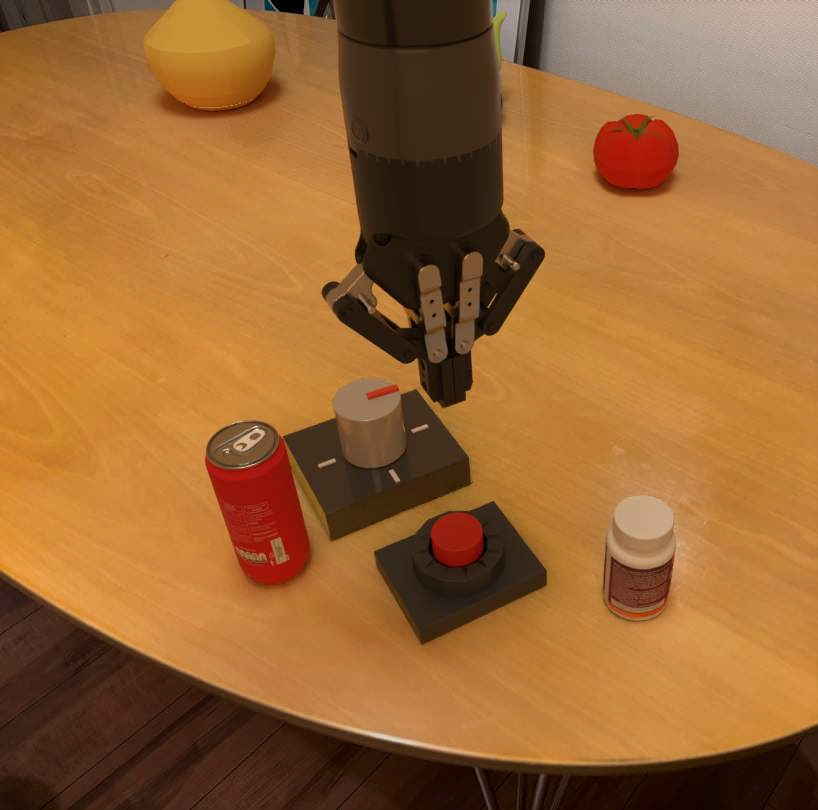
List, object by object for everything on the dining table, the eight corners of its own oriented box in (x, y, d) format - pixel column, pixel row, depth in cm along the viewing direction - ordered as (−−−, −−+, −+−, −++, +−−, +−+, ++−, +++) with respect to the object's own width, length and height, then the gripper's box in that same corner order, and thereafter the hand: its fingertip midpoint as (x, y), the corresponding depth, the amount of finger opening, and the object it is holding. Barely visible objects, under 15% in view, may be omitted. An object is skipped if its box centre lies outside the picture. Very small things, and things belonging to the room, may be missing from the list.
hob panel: (331, 541, 67) (324, 512, 65) (288, 462, 74) (281, 434, 72) (471, 483, 72) (469, 455, 70) (419, 414, 79) (416, 387, 77)
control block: (421, 645, 60) (417, 614, 58) (376, 566, 66) (370, 534, 63) (547, 585, 64) (547, 554, 62) (494, 515, 70) (493, 483, 67)
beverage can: (226, 568, 65) (184, 450, 58) (279, 524, 69) (246, 407, 61) (275, 600, 63) (238, 482, 55) (327, 554, 66) (299, 436, 59)
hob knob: (353, 477, 68) (344, 425, 65) (333, 436, 72) (323, 386, 69) (416, 455, 70) (410, 404, 67) (393, 417, 74) (386, 367, 70)
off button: (446, 575, 61) (444, 558, 60) (424, 540, 63) (422, 524, 62) (492, 554, 62) (491, 538, 61) (469, 521, 65) (468, 505, 64)
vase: (141, 123, 127) (98, -20, 115) (180, 77, 141) (145, -55, 129) (269, 123, 127) (240, -20, 115) (294, 76, 141) (271, -55, 129)
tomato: (623, 154, 120) (627, 100, 115) (691, 179, 114) (698, 122, 109) (573, 181, 113) (575, 125, 109) (642, 208, 108) (647, 150, 103)
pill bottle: (680, 609, 63) (694, 530, 57) (620, 631, 61) (628, 552, 56) (648, 561, 66) (658, 482, 61) (591, 581, 65) (595, 501, 59)
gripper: (506, 72, 48) (512, 335, 59) (266, 121, 43) (322, 399, 54) (581, 120, 43) (572, 396, 54) (319, 182, 38) (369, 473, 49)
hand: (447, 397), depth 54 cm, fingers closed
